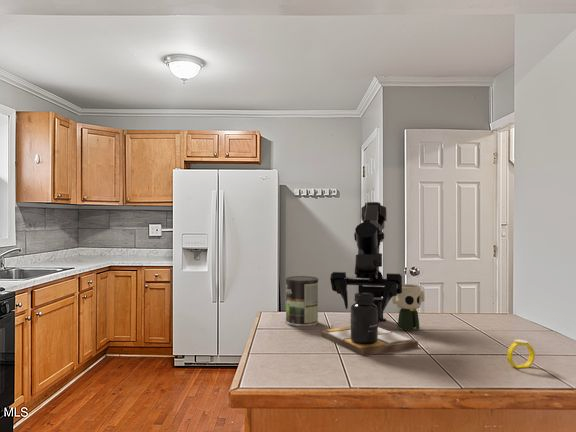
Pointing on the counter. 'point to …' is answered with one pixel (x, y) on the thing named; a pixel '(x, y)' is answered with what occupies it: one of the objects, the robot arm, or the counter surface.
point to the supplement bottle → (364, 319)
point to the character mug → (409, 306)
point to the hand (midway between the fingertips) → (364, 309)
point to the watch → (511, 349)
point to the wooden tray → (384, 344)
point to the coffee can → (302, 300)
